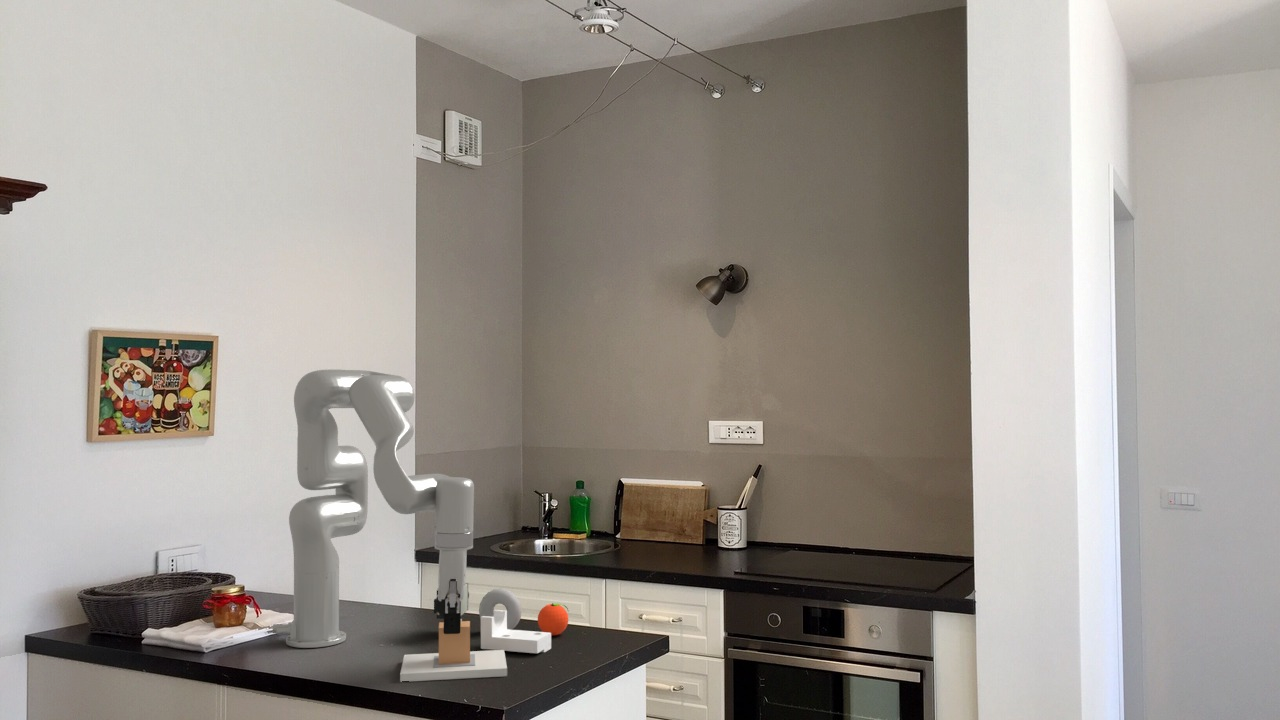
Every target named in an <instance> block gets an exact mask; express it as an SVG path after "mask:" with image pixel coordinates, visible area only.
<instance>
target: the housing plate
mask: <svg viewBox="0 0 1280 720" xmlns="http://www.w3.org/2000/svg"><path fill="white" fill-rule="evenodd" d="M496 677H497V678H498V677H508V666H507V659H506V653H505V651H504V650H491V649H489V650H477V651H476V650H475V651H474V650H472V651H471V650H470V663H454V664H439V652H436V653H435V652H433V653H432V652H431V653H412V654H411V653H410V654H404V655H403V659H402V664H401V669H400V673H399V682H400V683H403V682H402V681H409V682H424V681H440V680H441V681H443V680H461V679H478V678H481V679H482V678H496Z"/></svg>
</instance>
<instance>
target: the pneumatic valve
mask: <svg viewBox="0 0 1280 720" xmlns="http://www.w3.org/2000/svg"><path fill="white" fill-rule="evenodd" d="M445 598H446V597H445ZM469 599H470V593H469V582H465V589H464V596H463V599H462V600H461V616H463V615H464V614H465V613H467V611H469ZM444 613H445V599H442V600H441V601H439V600H438V589H437V590H436V598H434V599H433V614H434V615H435V614H436V619H439V620H444ZM461 621H463V619H462V618H461Z"/></svg>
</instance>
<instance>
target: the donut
mask: <svg viewBox="0 0 1280 720" xmlns="http://www.w3.org/2000/svg"><path fill="white" fill-rule="evenodd" d="M498 604H499V605H503V606H504V608H505V609H506V611H507V629H509V630H514V629H515V628H516V627H517V625H518V624H519V623H520V620H521V619H522V605H521V601H520V600H519V598H518V597H517V595H515V594H514V593H513V591H510V590H508V589H505V588H494V589H491V590H490V591H488V592H487V593H486V594H485V595H483V597H482V598H481V600H480V603H479V609H478V614H479V618H480V620H481V617H482V616H490V617H493V616H494V611H495V607H496V606H497V605H498Z"/></svg>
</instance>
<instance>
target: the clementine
mask: <svg viewBox="0 0 1280 720" xmlns="http://www.w3.org/2000/svg"><path fill="white" fill-rule="evenodd" d="M564 607H565V608H566V609H567V610H566V609H565V608H564ZM569 611H570V610H569V609H568V606H566V605H565V604H561V603H550V604H546V605H545V606H543V607H542V608H541V610H540V611H539V612H538V615H537V625H538V628H539V629H540V632H548V633H551V637H553V636H554V637H555V636H558V635H560V634H562V633H563V632H564V631H565V630H566V628H567V626H568V624H569V615H568V613H567V612H569ZM569 613H570V612H569Z"/></svg>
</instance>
